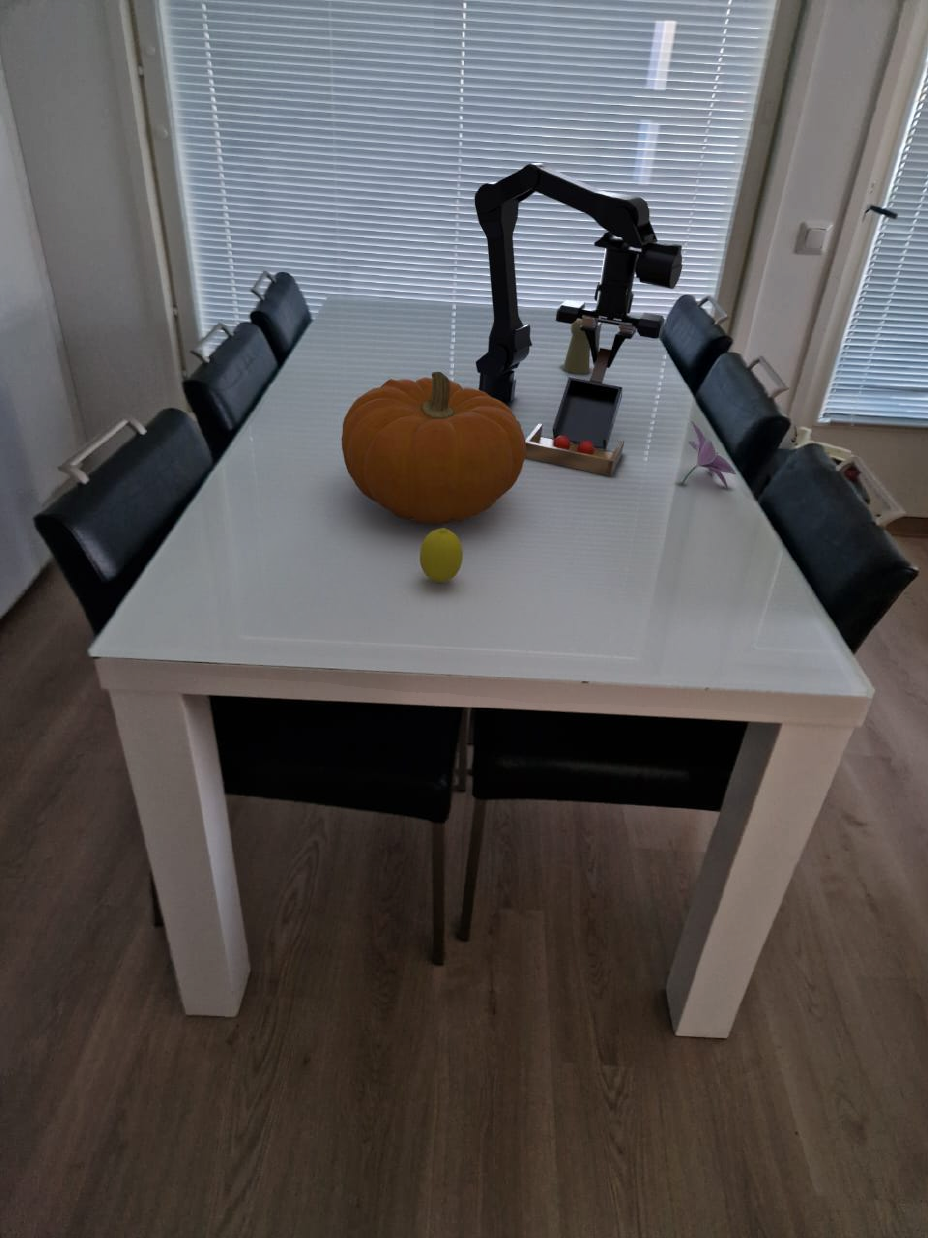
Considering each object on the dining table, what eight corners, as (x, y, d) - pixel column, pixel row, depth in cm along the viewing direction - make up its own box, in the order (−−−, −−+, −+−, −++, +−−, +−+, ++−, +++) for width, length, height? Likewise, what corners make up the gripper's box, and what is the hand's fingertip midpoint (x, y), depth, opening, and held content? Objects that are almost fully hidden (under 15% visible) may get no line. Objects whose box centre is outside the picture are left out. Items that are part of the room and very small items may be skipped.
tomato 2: (580, 435, 146) (579, 449, 148) (576, 445, 144) (574, 459, 147) (597, 439, 146) (595, 453, 148) (592, 449, 144) (591, 462, 146)
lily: (725, 510, 137) (759, 459, 134) (665, 474, 135) (699, 422, 133) (707, 500, 148) (739, 453, 146) (652, 466, 147) (683, 418, 144)
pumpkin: (361, 453, 141) (363, 334, 130) (522, 472, 140) (538, 354, 129) (320, 531, 118) (318, 394, 106) (513, 555, 117) (531, 419, 105)
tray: (521, 456, 145) (523, 441, 144) (536, 437, 153) (538, 423, 152) (610, 476, 142) (613, 461, 140) (621, 455, 150) (624, 441, 148)
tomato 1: (556, 430, 147) (555, 445, 150) (552, 439, 145) (550, 454, 148) (573, 434, 147) (571, 448, 149) (568, 443, 145) (566, 457, 147)
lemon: (417, 570, 111) (420, 517, 107) (458, 571, 112) (463, 519, 107) (419, 593, 106) (422, 538, 102) (461, 594, 107) (466, 540, 103)
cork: (588, 375, 187) (596, 325, 180) (561, 371, 187) (568, 321, 181) (590, 367, 192) (598, 318, 185) (564, 363, 192) (571, 315, 186)
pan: (580, 354, 157) (579, 343, 154) (632, 364, 155) (632, 353, 151) (553, 438, 153) (552, 428, 150) (606, 449, 151) (606, 440, 147)
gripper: (676, 276, 148) (658, 363, 157) (576, 261, 153) (563, 345, 162) (668, 289, 140) (649, 380, 149) (561, 272, 144) (549, 361, 153)
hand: (601, 366), depth 153 cm, fingers closed on pan, 2 cm apart
